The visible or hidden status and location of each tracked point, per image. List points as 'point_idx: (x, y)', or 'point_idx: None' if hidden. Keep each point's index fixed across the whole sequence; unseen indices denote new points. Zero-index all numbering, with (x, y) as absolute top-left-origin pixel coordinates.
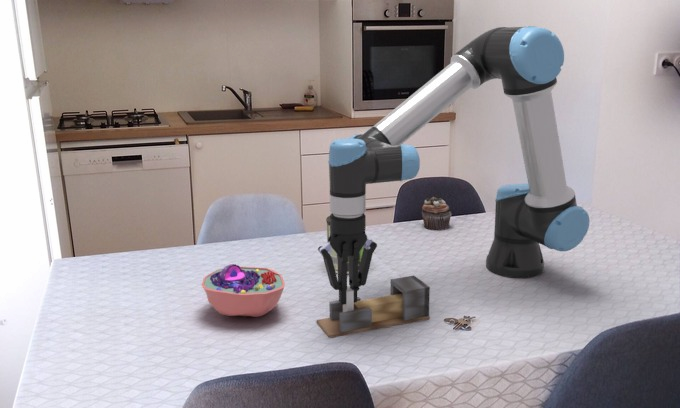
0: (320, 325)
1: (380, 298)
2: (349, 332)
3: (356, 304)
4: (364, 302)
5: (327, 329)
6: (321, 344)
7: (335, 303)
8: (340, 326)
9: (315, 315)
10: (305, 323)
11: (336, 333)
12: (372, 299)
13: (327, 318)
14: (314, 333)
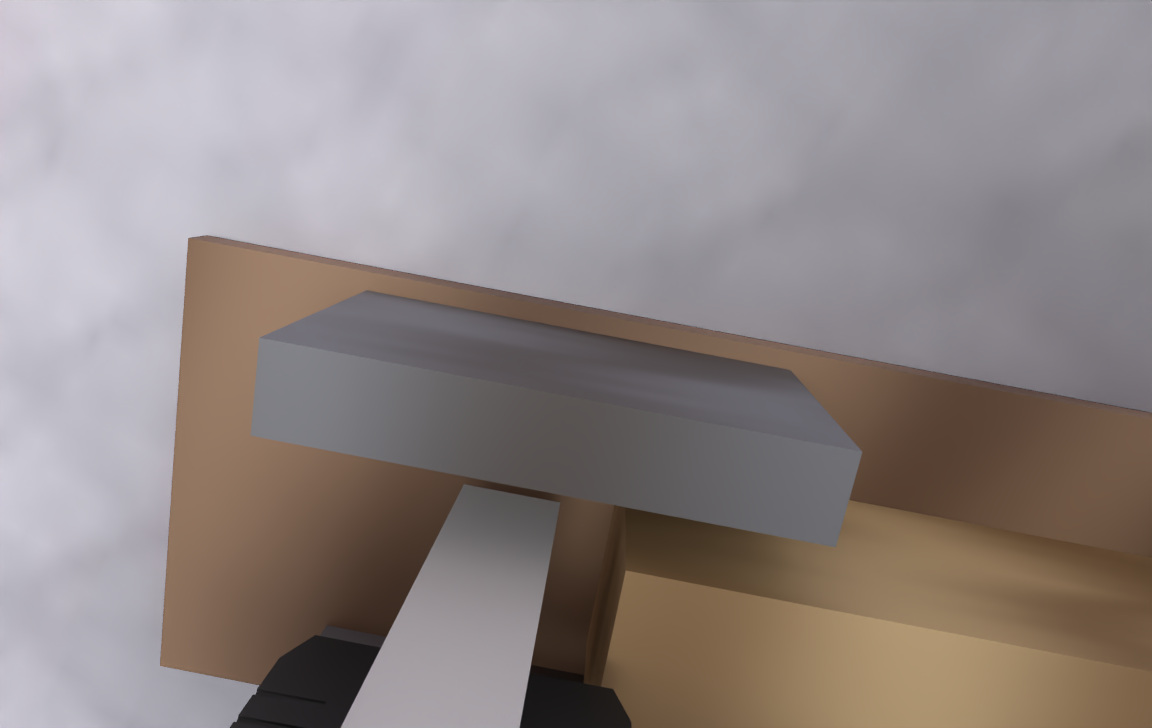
0: (182, 391)
1: (1148, 725)
2: None
3: (627, 695)
4: (796, 703)
5: (205, 541)
6: (55, 712)
7: (338, 445)
8: None
9: (283, 25)
10: (70, 178)
11: (256, 672)
12: (998, 683)
13: (337, 281)
14: (76, 472)
